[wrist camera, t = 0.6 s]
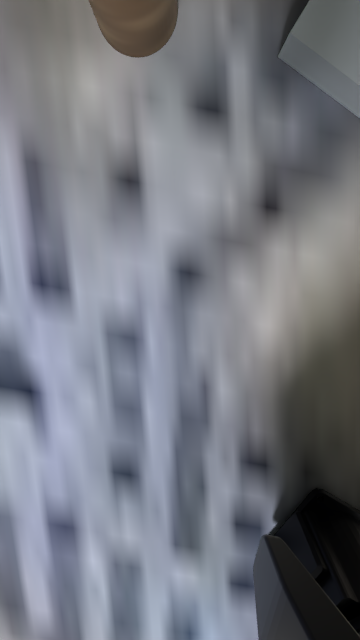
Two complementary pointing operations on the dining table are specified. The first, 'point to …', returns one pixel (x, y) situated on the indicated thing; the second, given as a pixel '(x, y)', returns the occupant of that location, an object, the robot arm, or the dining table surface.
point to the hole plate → (328, 49)
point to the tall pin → (136, 24)
